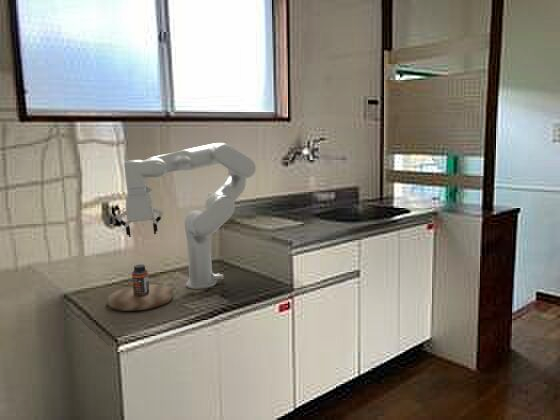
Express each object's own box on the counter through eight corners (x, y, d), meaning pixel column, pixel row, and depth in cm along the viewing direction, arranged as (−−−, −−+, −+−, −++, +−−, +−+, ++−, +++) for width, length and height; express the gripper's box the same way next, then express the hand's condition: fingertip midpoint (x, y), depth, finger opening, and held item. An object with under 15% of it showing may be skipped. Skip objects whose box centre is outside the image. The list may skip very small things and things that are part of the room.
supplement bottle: (130, 296, 177) (127, 267, 176) (138, 291, 183) (135, 263, 181) (145, 297, 176) (142, 268, 174) (152, 291, 182) (150, 263, 180)
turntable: (172, 286, 194) (171, 271, 193) (173, 306, 171) (172, 289, 170) (111, 292, 189) (110, 277, 188) (104, 314, 166) (103, 297, 165)
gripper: (159, 188, 186) (164, 230, 189) (114, 193, 182) (119, 235, 184) (161, 190, 179) (165, 234, 182) (113, 195, 174) (119, 239, 177)
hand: (142, 235), depth 183 cm, fingers open, 9 cm apart
